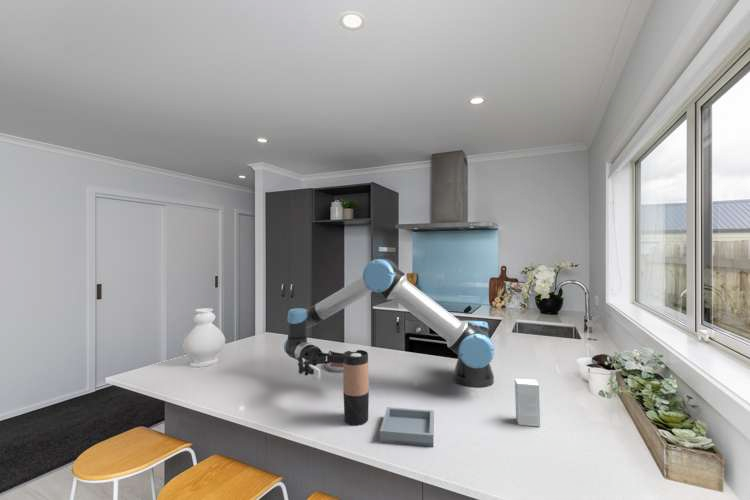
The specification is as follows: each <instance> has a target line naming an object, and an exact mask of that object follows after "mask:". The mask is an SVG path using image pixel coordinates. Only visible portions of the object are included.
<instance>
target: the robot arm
mask: <svg viewBox="0 0 750 500" xmlns="http://www.w3.org/2000/svg"><path fill="white" fill-rule="evenodd" d="M373 292H374V293H377V294H379V295H381V296H382V297H383V298H384V299H386V300H387V301H388V300H394V301H395V302H396V303H398V305H400V306H401V307H402V308H404V309H405V310H406V311H408V312H409V313H411V314H412V315H413V316H414V317H415V318H417V320H420V321H421V322H422V323H424V324H425V325H426V327H429V328H430V329H431V330H432V331H434V332H435V333H436V334H437V335H439V336H440V337H441V338H443V339H444V340H445V341H446V343H447V345H446V346H447V348H448V349H450V350H452V351H453V353H455V354H456V355H457V361H456V363H455V368H454V371H453V380H454V381H455V382H456V383H458V384H459V385H463V386H466V387H467V386H468V387H473V388H474V387H475V388H483V387H489V386H492V385H493V384H494V383H495V378H494V372H493V369H492V367H491V362H492V360H493V358H494V355H495V347H494V344H493V342H492V339H491V338H490V336H489V329H490V328H489V323H488V322H486V321H483V320H482V321H481V320H460V319H459V318H457V317H456V316H454V315H453V314H452V313H450V312H449V311H448V310H447V309H445V308H444V307H443V306H441V305H440V304H438V302H436V301H435V300H433V299H432V298H431V297H430V296H428V295H427V294H425V293H424V292H423V291H421V290H420V289H419V288H417V287H416V286H415V285H413V284H412V283H411V282H410V281H409V280H408V279H407V274H406V273H405V272H403V271H402V270H400V269H399V266H398V265H397V264H396V262H395V261H393V260H391V259H389V258H376V259H372V260H371V261H369V262H368V263H367V264H366V265H365V267H364V268H363V272H362V276H360V277H359V278H358V279H356V280H354V281H352V282H350V283H349V284H347V285H346V286H344V287H342V288H341V289H339V290H338V291H336V292H334V293H333V294H331V295H329V296H327V297H326V298H323V300H321V301H319V302H317V303H315V304H313V305H312V306H311V307H309V308H302V307H301V308H300V307H298V308H297V307H296V308H291V309H289V310H288V311H287V318H286V319H287V339H286V340H285V342H284V344H283V349H284V352H285V353H286V354H287V355H288V356H289V357H290V358H291V359H292V358H293V359H294V360H296V361H297V366H298V374H299V375H301V374H303V373H304V376H306V377H307V376H309V375H310V376H312V377H315V378H316V379H317V380H321V377H322V375H321V374H322V371H321V369H320V368H318V367H317V366H318V365H322V364H324V365H325V364H329V363H343V354H344V352H343V353H342V352H335V351H332V350H329V351H328V352H323V351H322V349H320V347H319V346H316V345H314V344H312V343H310V342H308V329H310V328H312V327H315V326H317V325H318V324H320V323H321V322H322V321H324V320H325V319H328V318H329V317H330V316H333V315H335V314H336V313H338V312H340V311H341V310H343V309H345V308H347V307H348V306H350V305H352V304H353V303H355V302H357V301H358V300H360V299H362V298H363V297H366V296H367V295H369V294H371V293H373Z"/></svg>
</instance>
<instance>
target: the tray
mask: <svg viewBox="0 0 750 500" xmlns="http://www.w3.org/2000/svg"><path fill="white" fill-rule="evenodd" d="M434 414H435V413H434V410H433V409H432V410H431V409H420V408H419V409H418V408H404V407H392V406H391V407H386V409H385V413H384V416H383V420H382V422H381V426H380V429H379V443H385V444H396V445H407V446H416V447H427V448H434V440H435V439H434V431H435V429H434V428H435V417H434V416H435V415H434Z"/></svg>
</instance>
